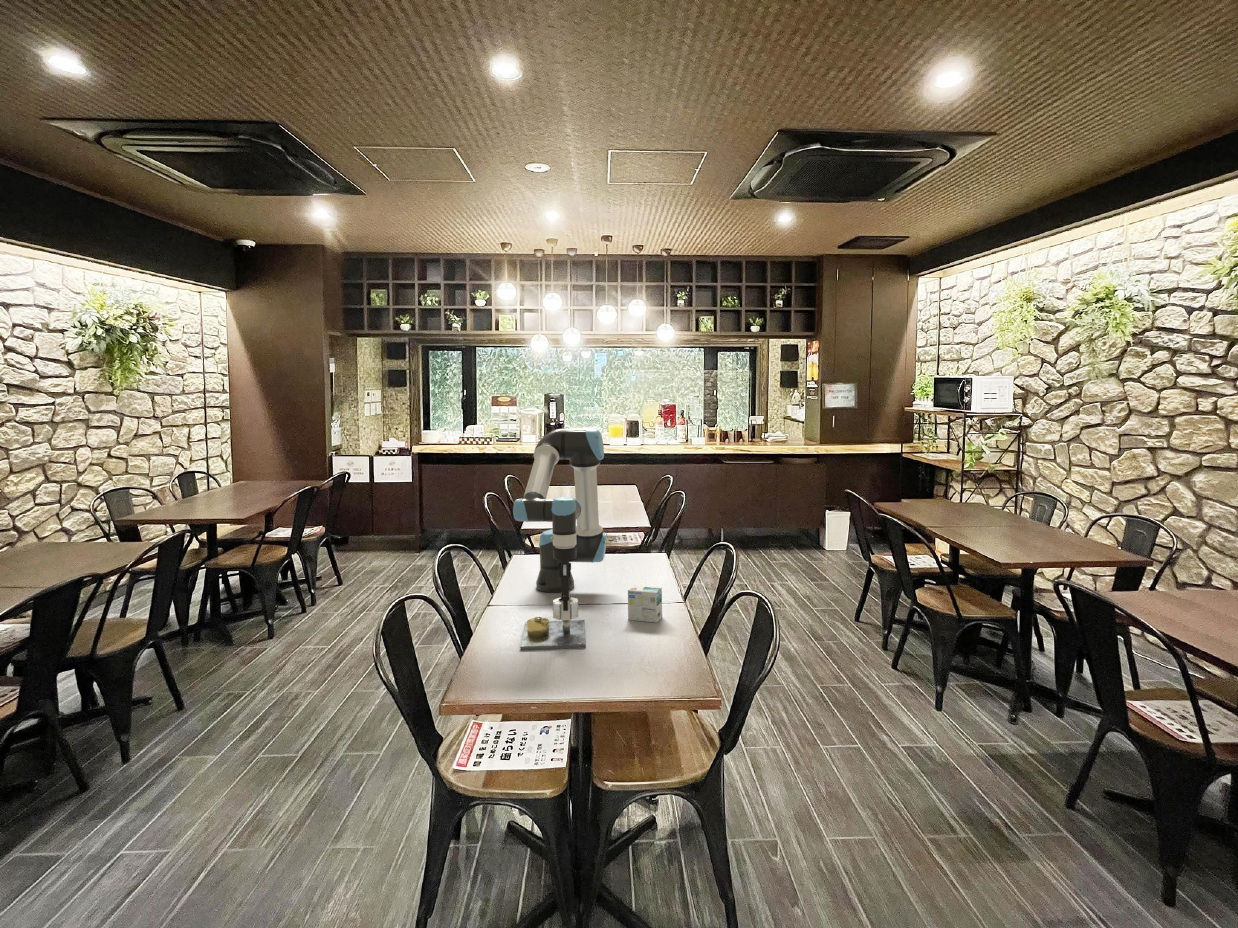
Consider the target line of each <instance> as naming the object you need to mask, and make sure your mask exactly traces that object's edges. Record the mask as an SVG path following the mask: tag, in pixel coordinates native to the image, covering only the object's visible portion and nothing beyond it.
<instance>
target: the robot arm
mask: <svg viewBox="0 0 1238 928" xmlns="http://www.w3.org/2000/svg"><path fill="white" fill-rule="evenodd" d="M604 458H605V450H604V440H603V436H602V434H601V431H600V430H599V429H596V428H588V427H586V428H585V427H584V428H558V429H554V430H552V431H550V432H548V433H546V434H545V435H544V436H543V437H542V438H541V439H540V440H539V441H538V442H537V443H536V445H535V448H534V451H533V459H534V460H533V463H532V466H531V467H532V468H531V471H530V474H529V478H528V481H527V484H526V487H525V491H524V494H523V498H518V499H517V498H516V499H515V500H514V502H513V508H512V513H513V519H514V520H515V521H517V522H524V523H528V522H530V523H531V522H533V523H534V522H535V523H536V522H537V523H538V522H540V523H542V522H543V523H544V522H545V523H546V522H547V523H550V522H551V523H552V525H551V526H552V528H551V529H548V530H544V531H543V532H542V533H540V535H539V544H538V546H539V563H540V564H539V572H538V576H537V579H536V582H535V584H536V585H535V586H536V587H535V588H536V590H537V591H539V592H543V593H560V598H561V599H559V601H561V620H560V621H562V620H571V619H570V598H571V591H572V589H574V588H575V579H574V576H573V574H572V571H571V570H572V563H593V564H594V563H601V562H603V561H604V559H605V555H606V550H607V542H608V540H607V539H608V533H607V532H604V528H603V526H602V525H600V524H599V520H600V519H599V501H598V500H599V498H598V497H599V496H598V475H597V474H598V473H597V467H599V465H600V464H601V461H602V460H603V459H604ZM560 460H567V461H568V460H569V466H570V467H571V468H573V473H574V474H573V475H574V492H575V493H574V495H575V497H572V496H560V497H555V498H547V496H548V492H549V488H550V484H551V480H552V477H553V472H554V469H555V465H557V464H558V462H559V461H560Z"/></svg>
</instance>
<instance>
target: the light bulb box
mask: <svg viewBox="0 0 1238 928" xmlns="http://www.w3.org/2000/svg"><path fill="white" fill-rule="evenodd" d="M662 590H663V588H662V587H660V586H649V585H648V586H646V585H636V584H633V585H632V586H631V587H630V588H628V590H627V620H628V621H639V622H647V623H654V624H655V623H659V621H660V620H661V619H662V618H663V591H662Z"/></svg>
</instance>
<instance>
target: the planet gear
mask: <svg viewBox="0 0 1238 928" xmlns="http://www.w3.org/2000/svg"><path fill="white" fill-rule="evenodd" d="M559 599H561V597H558V598H555V599H553V600H552V611H553V613H552V614H553V615H552V616H553V617H552V618H553V619H555V620H557V621H562V620H561V601H559ZM577 618H579V599H578V598H577V597H576V598H575V597H571V596H570V620H576V619H577Z"/></svg>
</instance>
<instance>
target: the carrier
mask: <svg viewBox="0 0 1238 928" xmlns="http://www.w3.org/2000/svg"><path fill="white" fill-rule="evenodd" d="M585 621H586V620H585V619H577V620H576V619H572V620H571V619H570V620H550V619H548V618H547V617H541V616H535V617H531V618H530V619H528V620H527V621H525V622H524V625H523V632H522V637H521V639H520V640H521V642H520V645H519V650H520V651H534V650H535V651H536V650H542V651H543V650H563V649H564V650H565V649H568V650H569V649H586V647H587V646H586V627H585V626H586V624H585Z"/></svg>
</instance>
